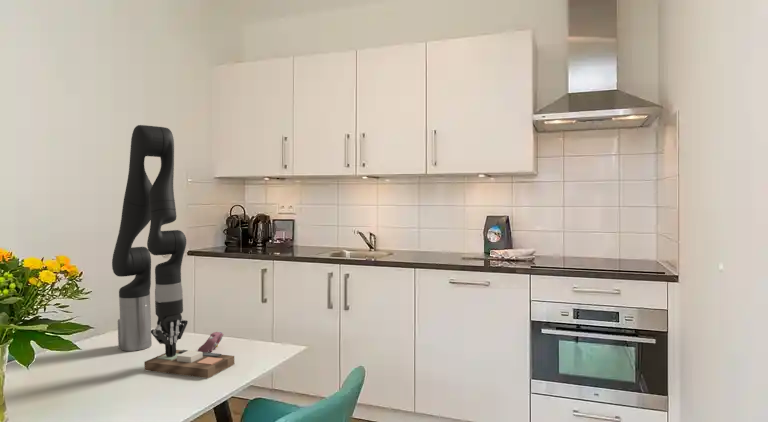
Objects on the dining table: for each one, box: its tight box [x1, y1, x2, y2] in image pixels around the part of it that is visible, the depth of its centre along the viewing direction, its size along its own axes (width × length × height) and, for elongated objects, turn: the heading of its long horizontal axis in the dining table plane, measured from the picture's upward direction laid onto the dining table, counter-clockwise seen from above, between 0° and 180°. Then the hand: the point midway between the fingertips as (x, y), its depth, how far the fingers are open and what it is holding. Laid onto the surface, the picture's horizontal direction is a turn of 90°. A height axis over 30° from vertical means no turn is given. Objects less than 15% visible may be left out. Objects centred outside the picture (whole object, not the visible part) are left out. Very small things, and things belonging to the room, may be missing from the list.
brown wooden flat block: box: [143, 349, 235, 379], centre depth 150 cm, size 22×12×3 cm, turn 71°
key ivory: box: [177, 350, 203, 363], centre depth 150 cm, size 5×5×2 cm
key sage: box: [158, 353, 179, 360], centre depth 152 cm, size 5×5×2 cm
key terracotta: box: [197, 357, 223, 365], centre depth 147 cm, size 5×5×2 cm
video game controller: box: [197, 331, 224, 353], centre depth 166 cm, size 10×5×7 cm, turn 179°
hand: (170, 356), depth 152 cm, fingers closed
